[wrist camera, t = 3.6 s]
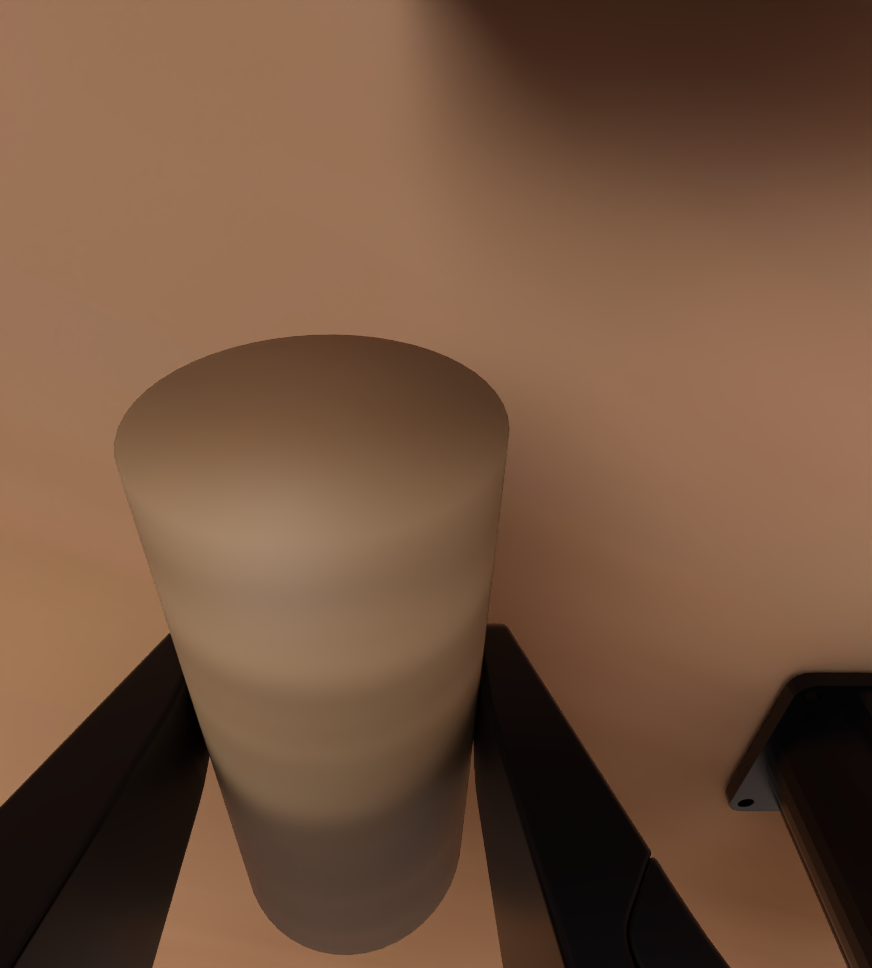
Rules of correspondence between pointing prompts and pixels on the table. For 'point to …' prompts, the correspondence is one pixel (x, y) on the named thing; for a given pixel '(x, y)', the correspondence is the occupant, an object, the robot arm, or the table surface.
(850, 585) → the table surface
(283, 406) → the roller
